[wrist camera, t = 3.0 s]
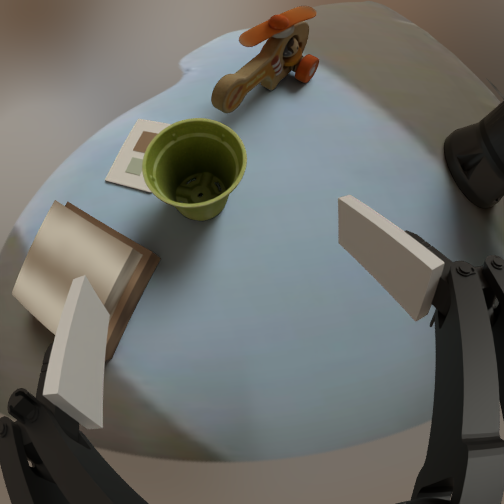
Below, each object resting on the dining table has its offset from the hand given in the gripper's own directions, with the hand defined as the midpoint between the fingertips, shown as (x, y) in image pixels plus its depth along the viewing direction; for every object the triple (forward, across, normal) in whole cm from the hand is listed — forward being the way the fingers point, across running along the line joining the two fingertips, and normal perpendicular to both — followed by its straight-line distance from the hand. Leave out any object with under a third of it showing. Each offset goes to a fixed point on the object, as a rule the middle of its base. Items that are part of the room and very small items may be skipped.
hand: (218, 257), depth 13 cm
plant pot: (+20, +1, -4) cm, 20 cm away
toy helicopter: (+30, +14, +6) cm, 34 cm away
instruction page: (+26, -5, +2) cm, 26 cm away
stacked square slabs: (+16, -15, -8) cm, 23 cm away
